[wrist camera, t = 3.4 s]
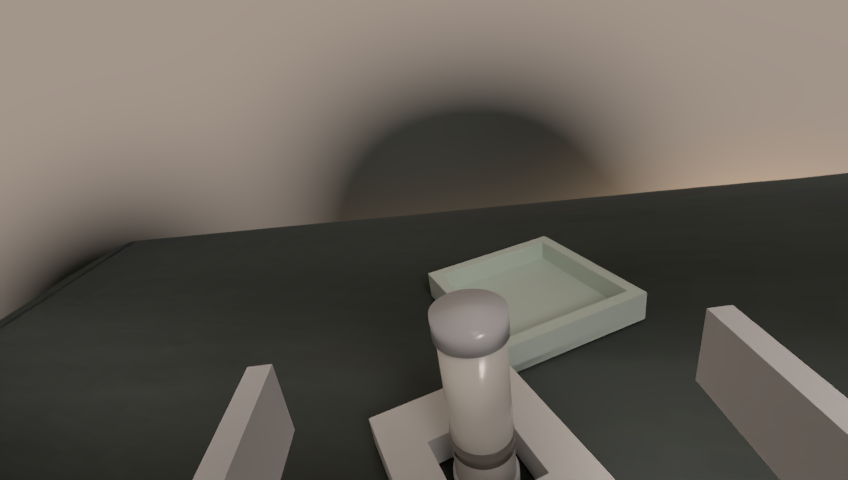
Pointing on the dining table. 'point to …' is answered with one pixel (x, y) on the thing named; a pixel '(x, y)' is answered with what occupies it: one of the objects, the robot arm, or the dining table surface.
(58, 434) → the dining table surface
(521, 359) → the parts tray
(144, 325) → the dining table surface
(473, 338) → the fuse
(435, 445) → the socket block
